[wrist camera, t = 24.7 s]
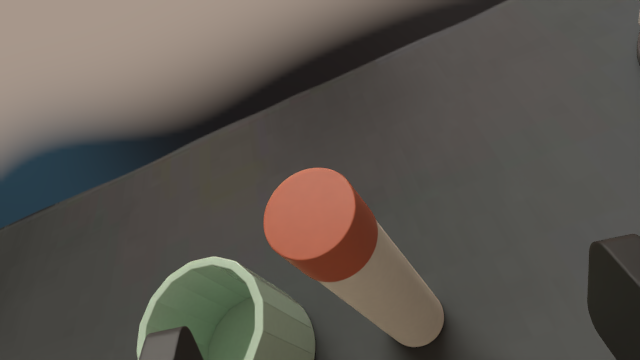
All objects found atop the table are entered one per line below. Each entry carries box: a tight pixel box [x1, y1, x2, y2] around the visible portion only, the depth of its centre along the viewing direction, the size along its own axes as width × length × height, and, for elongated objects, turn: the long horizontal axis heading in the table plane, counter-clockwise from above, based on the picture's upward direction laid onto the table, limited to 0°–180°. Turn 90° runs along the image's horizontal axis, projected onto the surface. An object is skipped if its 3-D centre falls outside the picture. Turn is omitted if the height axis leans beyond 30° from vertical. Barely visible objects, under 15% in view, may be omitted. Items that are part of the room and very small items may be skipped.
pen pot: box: [137, 257, 315, 360], centre depth 37 cm, size 9×9×8 cm
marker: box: [264, 168, 444, 347], centre depth 30 cm, size 4×4×18 cm
